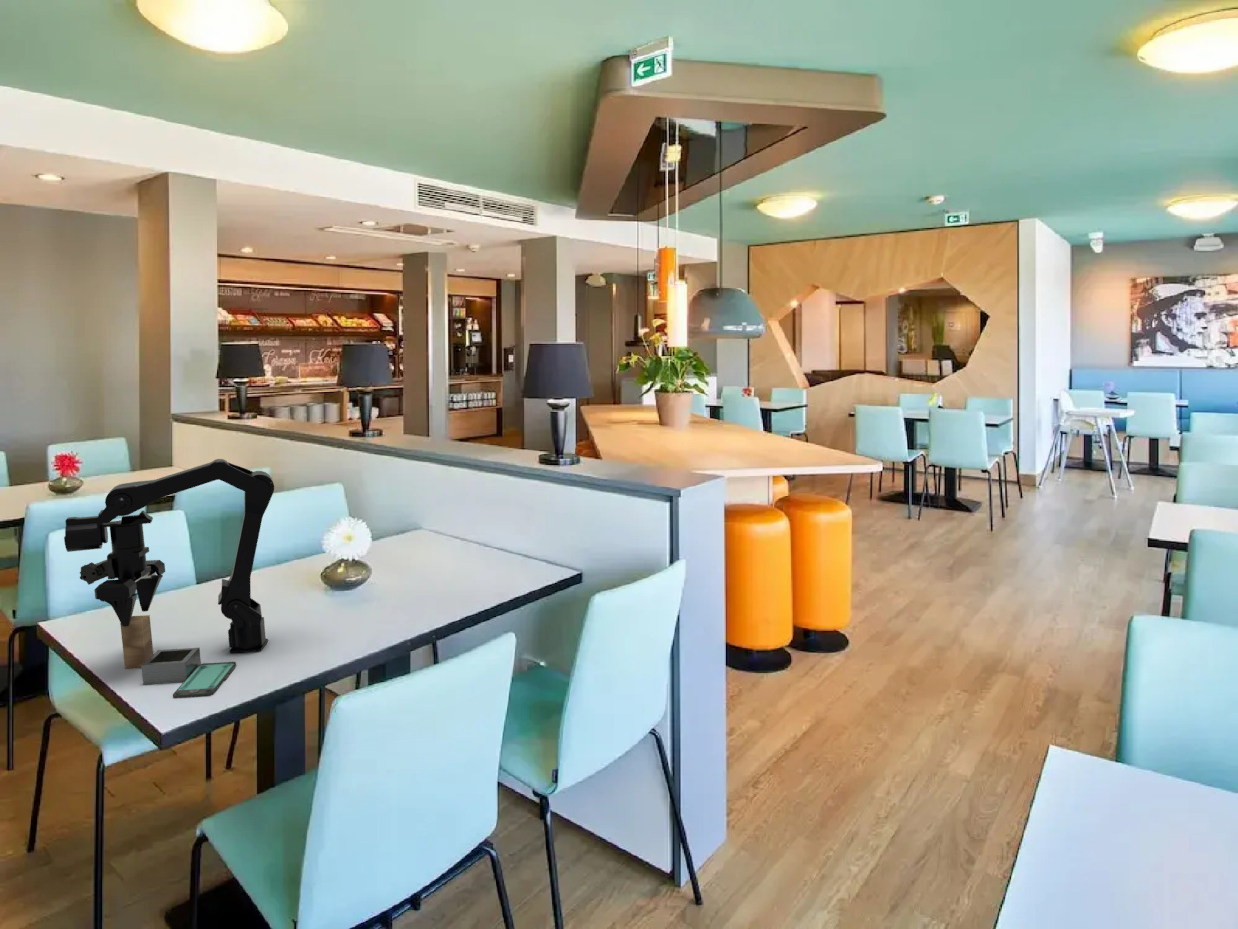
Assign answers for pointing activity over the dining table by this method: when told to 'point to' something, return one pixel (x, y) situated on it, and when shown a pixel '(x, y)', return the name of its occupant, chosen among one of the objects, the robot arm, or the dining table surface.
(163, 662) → the gray open box
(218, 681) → the smartphone
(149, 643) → the rail post
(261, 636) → the robot arm
